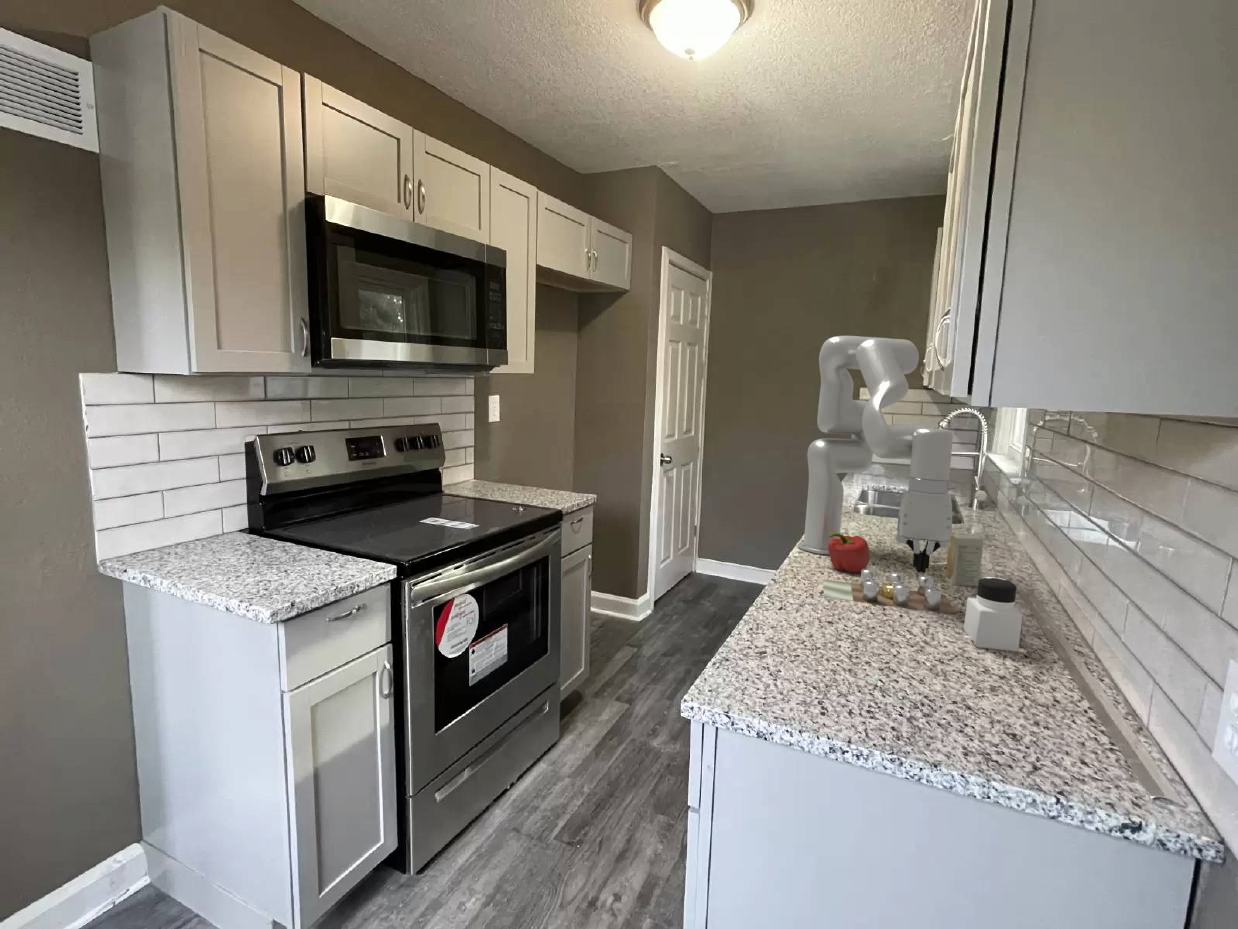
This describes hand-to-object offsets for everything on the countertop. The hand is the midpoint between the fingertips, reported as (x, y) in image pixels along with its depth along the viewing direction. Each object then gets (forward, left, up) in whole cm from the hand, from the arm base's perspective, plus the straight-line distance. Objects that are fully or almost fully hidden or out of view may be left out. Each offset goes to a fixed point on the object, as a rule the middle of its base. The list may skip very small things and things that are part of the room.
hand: (920, 571), depth 134 cm
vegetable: (-19, -14, -8) cm, 25 cm away
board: (-1, -7, -7) cm, 10 cm away
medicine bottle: (+17, +10, -8) cm, 21 cm away
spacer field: (-1, -4, -7) cm, 8 cm away
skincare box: (-19, +12, -8) cm, 24 cm away
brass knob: (-1, -5, -7) cm, 8 cm away
